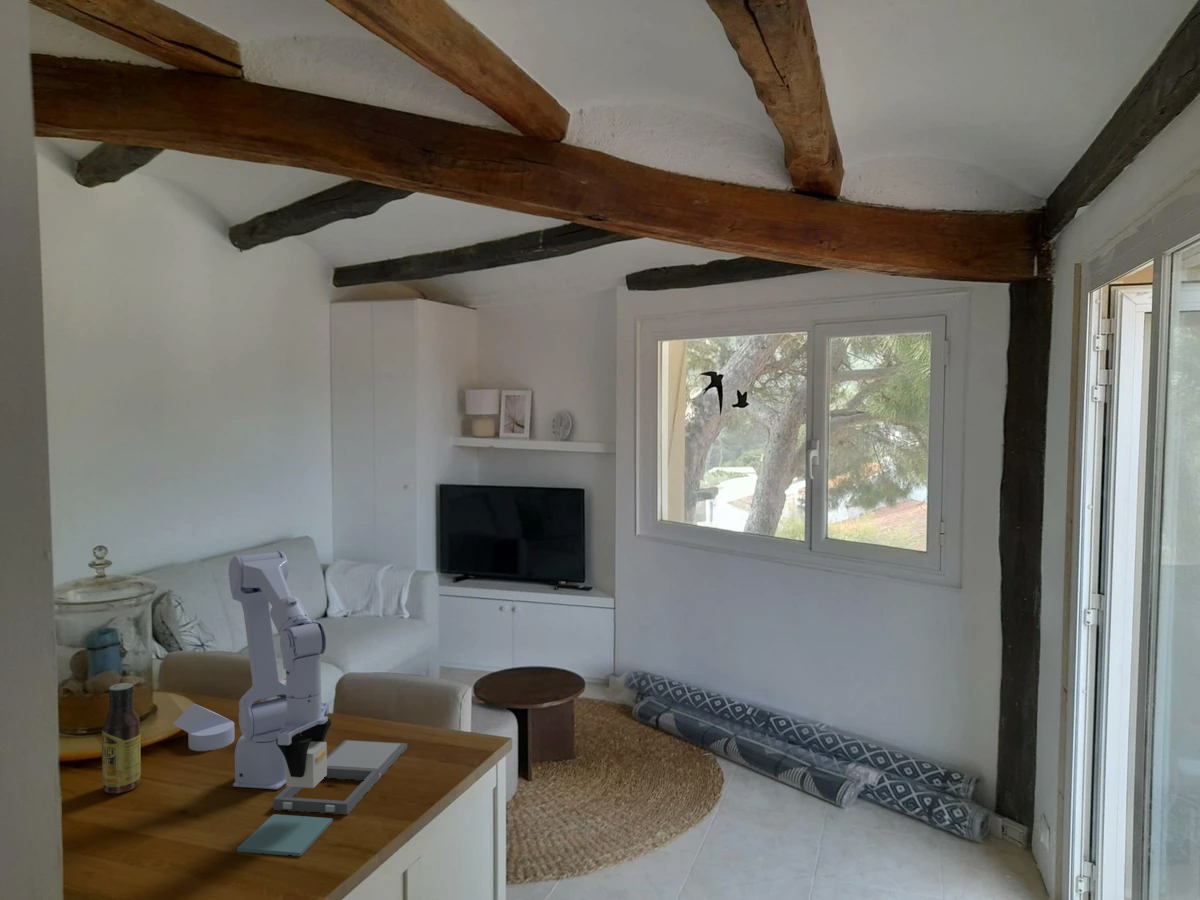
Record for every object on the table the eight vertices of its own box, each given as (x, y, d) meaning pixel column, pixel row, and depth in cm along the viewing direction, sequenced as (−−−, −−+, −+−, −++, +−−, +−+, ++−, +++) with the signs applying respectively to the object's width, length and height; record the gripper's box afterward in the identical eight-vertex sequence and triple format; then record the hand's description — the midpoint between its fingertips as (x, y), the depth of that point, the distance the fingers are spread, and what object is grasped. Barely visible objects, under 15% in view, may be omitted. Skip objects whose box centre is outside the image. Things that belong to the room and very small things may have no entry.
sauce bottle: (98, 788, 150) (95, 685, 149) (134, 777, 155) (132, 677, 154) (109, 799, 146) (106, 693, 145) (146, 788, 150) (143, 685, 149)
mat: (237, 851, 128) (237, 847, 128) (273, 817, 139) (273, 814, 139) (300, 856, 127) (300, 852, 127) (332, 821, 138) (332, 818, 138)
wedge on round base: (172, 738, 173) (200, 754, 165) (172, 708, 173) (199, 723, 165) (214, 726, 180) (242, 741, 172) (213, 697, 180) (241, 710, 172)
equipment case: (271, 811, 141) (271, 800, 141) (345, 744, 170) (344, 735, 170) (345, 816, 139) (345, 805, 139) (407, 748, 168) (407, 738, 168)
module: (286, 786, 137) (285, 752, 137) (300, 773, 142) (300, 740, 142) (314, 788, 136) (314, 753, 136) (328, 775, 141) (327, 742, 141)
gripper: (305, 708, 131) (306, 789, 131) (343, 680, 145) (345, 752, 146) (265, 707, 132) (266, 787, 132) (307, 678, 146) (308, 750, 147)
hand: (305, 769), depth 139 cm, fingers closed on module, 5 cm apart
